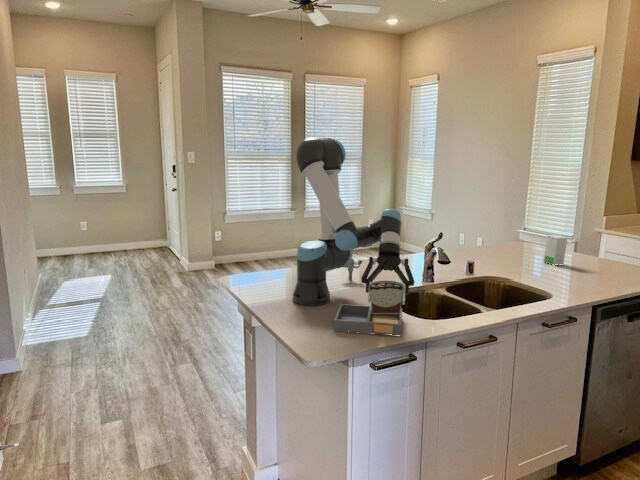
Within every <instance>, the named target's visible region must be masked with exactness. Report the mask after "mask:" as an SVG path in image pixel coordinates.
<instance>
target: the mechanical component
mask: <svg viewBox="0 0 640 480" xmlns="http://www.w3.org/2000/svg"><path fill="white" fill-rule="evenodd" d="M361 264H363V260H361V259H358V261H357V262H356V261H355V259H354V258H352V259H351V261H350V262H349V263H348V264H347V265H345V266H343V267H342V268H345V269H346V268H347V271H348V281H351V282H352V281H353V272H354V269H360V267H361Z"/></svg>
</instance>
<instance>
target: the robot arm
mask: <svg viewBox="0 0 640 480" xmlns="http://www.w3.org/2000/svg"><path fill="white" fill-rule="evenodd" d="M295 151H296V152H295V162H296V165H297V168H298V170H299V172H300V174H301V176H302V177H305V178H306V179H307V181H308V182H309V185H310V186H311V189H312V190H313V192H314V194H315V196H316V198H317V200H318V201H319V202H318V203H319V214H320V224H321V225H320V227H321V228H320V229H321V234H320V236H319V237H318V240H311V241H309V240H307V241H305V242H301V243H300V244H299V245H298V247H297V253H296V262H297V263H296V273H297V274H296V276H297V277H296V283H295V287H294V291H293V293H292V301H293V302H294V303H296V304H298V305H301V306H311V307H312V306H321V305H326V304H328V303H330V301H331V294H330V293H331V292H330V290H329V287H328V283H327V272H329V271H332V270H336V269H341V268H344V267H343V266H345V265H347V264H348V263H349V262H350V261H351V259H353V255H354V254H353V253H354V252H353V251H354V249H359V248H367V247H371V246H372V245H374V244H377V243H379V244H378V246H379V247H378V256H377V258H375V257H373V256H370V257H369V258H368V261H369V262H368V264H367V266H366V268H365V270H364V272H363V274H362V276H361V284H365V293H367V296H368V297H367V302H368V303H371V298H370V289H369V290H368V287H369V285H370V284H371V283H373V282H374V280H375V279H376V278H377V276H379V274H380V273H381V272H383V271H390V272H391V271H394V273H395V274H396V275H397V276H398V277H399V279H400V280H401V283H402V284H403V286H404V289H405V291H404V290H403V294H402V303H401V305H405V304H406V296H408V295H409V289H410V288H409V287H414V285H415V279H414V276H413V273H412V271H411V268H410V265H409V259H408V258H404V259H401V256H400V254H401V252H400V251H401V248H400V247H401V229H402V215H401V213H400V212H399V211H398V210H396V209H393V208H388V209H384V211H382V213H381V215H380V219H379V220H376V221H375V222H373V223H371V224H368V225H364V226H363V225H362V226H358V227H357V226H356V225H355V223H354V221H353V219H352V217H351V215H350V214H349V213H350V212H349V211H348V210H347V208H346V206H345V203H343V201H342V198H341V197H340V187H339V186H340V185H339V174H340V172H342V165H343V164H344V162H345V160H346V155H347V154H346V149H345V147H344V145H343V143H341V142H340V141H339V140H338V139H335V138H332V137H331V138H330V137H308V138H305V139H303V140H302V141H300V143H299V144H298V146H297V148H296V150H295ZM376 263H377V267H376V268H375V269H374V270H373V271H372V269H373V266H374V265H375V264H376ZM401 264H402V266H403V267H404V271H405V273H406V276H407V277H406V276H405V274H404V272H403V271H402V270H401V268H400V265H401ZM371 271H372V272H371ZM370 273H371V274H370Z"/></svg>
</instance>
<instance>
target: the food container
mask: <svg viewBox="0 0 640 480" xmlns="http://www.w3.org/2000/svg"><path fill="white" fill-rule="evenodd" d="M369 289H370V298H371V302H370V306H372V314H400V312H401V308H402V303H403V290H404V291H405V289H404V286H403V282H398V281H396V280H395V281H394V280H377V281H372V283H371V284H370V285H369V287H368V290H369Z"/></svg>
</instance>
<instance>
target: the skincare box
mask: <svg viewBox="0 0 640 480" xmlns="http://www.w3.org/2000/svg"><path fill="white" fill-rule="evenodd" d="M567 243H568V237H565V236H562V235H559V234H547V235H546V242H545V249H544V257H543V263H544V262H547V263H550V264H554V265H555V264H563V265H564V263H565V255H566V250H567ZM547 263H546V264H547ZM550 264H549V265H550Z"/></svg>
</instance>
